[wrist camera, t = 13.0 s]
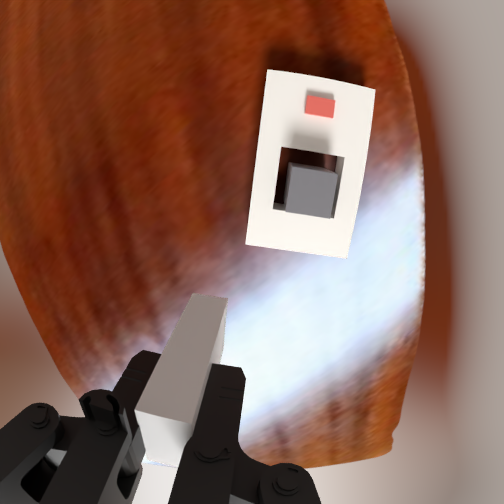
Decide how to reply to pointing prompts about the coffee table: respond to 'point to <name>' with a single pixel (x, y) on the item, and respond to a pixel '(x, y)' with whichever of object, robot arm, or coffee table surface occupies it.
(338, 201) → the socket plate
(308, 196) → the plug
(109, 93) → the coffee table surface
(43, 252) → the coffee table surface
